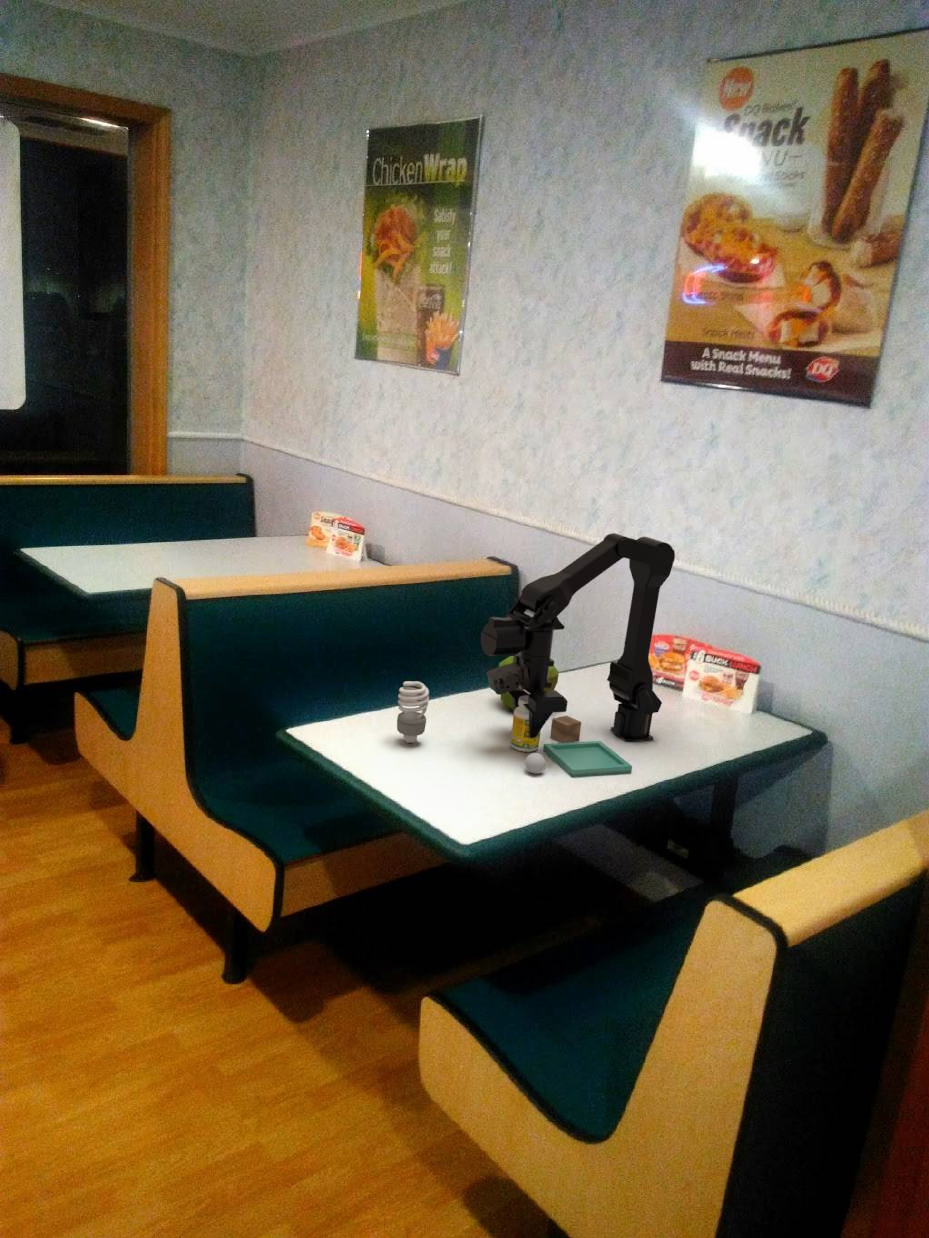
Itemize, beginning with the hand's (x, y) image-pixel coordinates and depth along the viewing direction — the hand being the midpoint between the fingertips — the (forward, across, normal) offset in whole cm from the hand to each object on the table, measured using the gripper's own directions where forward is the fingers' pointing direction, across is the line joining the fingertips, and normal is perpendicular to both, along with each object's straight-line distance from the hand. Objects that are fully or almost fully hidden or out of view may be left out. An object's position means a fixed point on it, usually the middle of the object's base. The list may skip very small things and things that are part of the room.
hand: (526, 731), depth 182 cm
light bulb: (+3, -5, -21) cm, 22 cm away
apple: (+3, -20, +9) cm, 22 cm away
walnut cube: (+3, -3, +10) cm, 11 cm away
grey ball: (+3, +11, -3) cm, 12 cm away
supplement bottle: (+3, 0, 0) cm, 3 cm away
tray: (+3, +8, +9) cm, 12 cm away
